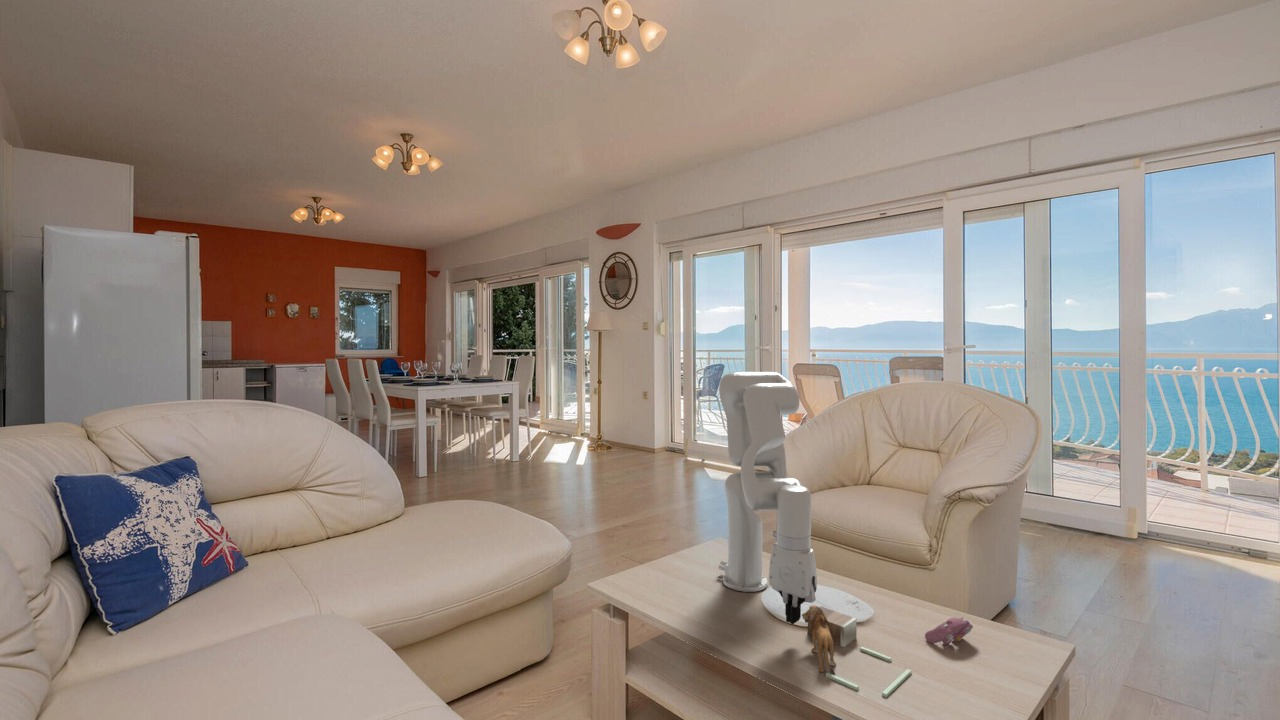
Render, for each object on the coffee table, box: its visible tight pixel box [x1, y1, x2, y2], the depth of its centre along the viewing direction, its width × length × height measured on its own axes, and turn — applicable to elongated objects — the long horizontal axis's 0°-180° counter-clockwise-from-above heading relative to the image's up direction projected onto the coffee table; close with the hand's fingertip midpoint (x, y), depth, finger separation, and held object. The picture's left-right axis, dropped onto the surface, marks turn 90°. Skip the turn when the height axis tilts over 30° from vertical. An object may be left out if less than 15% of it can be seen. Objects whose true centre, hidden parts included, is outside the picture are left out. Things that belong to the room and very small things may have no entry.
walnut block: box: [807, 605, 858, 648], centre depth 134 cm, size 4×6×9 cm
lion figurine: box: [801, 604, 837, 676], centre depth 124 cm, size 15×5×9 cm, turn 2°
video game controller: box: [924, 616, 974, 646], centre depth 131 cm, size 10×5×7 cm, turn 115°
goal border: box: [825, 646, 912, 698], centre depth 118 cm, size 11×16×1 cm
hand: (792, 620), depth 131 cm, fingers closed
